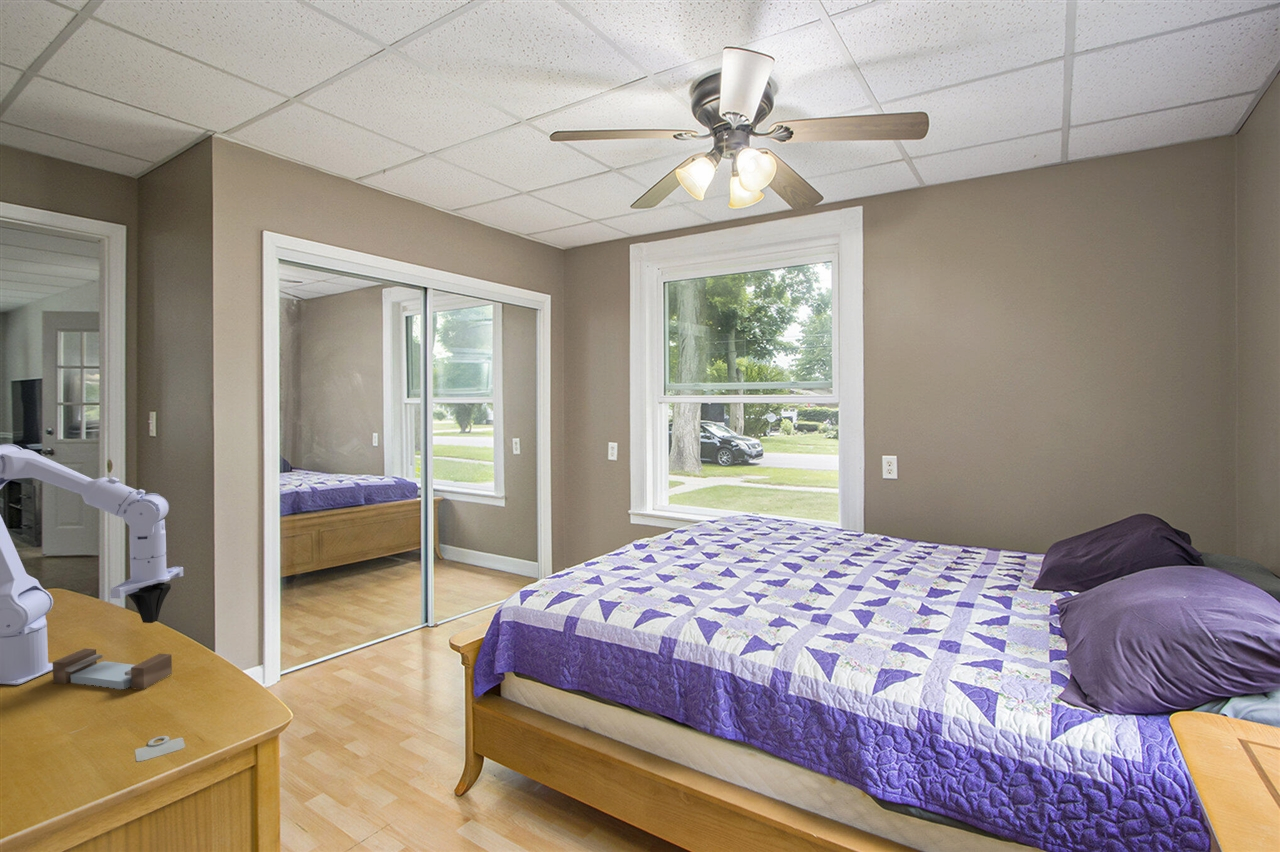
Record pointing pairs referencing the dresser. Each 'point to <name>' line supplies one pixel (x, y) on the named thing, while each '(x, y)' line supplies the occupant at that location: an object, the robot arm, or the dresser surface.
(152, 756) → the mounting bracket
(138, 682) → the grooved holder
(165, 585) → the robot arm
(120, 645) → the dresser surface
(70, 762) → the dresser surface
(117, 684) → the cover plate
